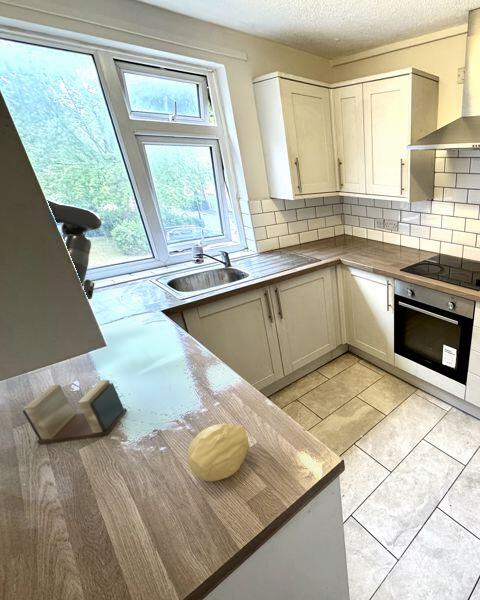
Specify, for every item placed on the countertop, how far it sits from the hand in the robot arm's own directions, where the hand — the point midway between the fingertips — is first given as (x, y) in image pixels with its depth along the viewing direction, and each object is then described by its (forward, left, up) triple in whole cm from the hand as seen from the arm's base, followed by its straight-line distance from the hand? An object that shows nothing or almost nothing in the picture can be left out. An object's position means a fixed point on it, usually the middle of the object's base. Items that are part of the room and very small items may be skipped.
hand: (60, 312), depth 101 cm
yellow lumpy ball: (+56, -49, -21) cm, 77 cm away
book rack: (+17, -29, -21) cm, 40 cm away
